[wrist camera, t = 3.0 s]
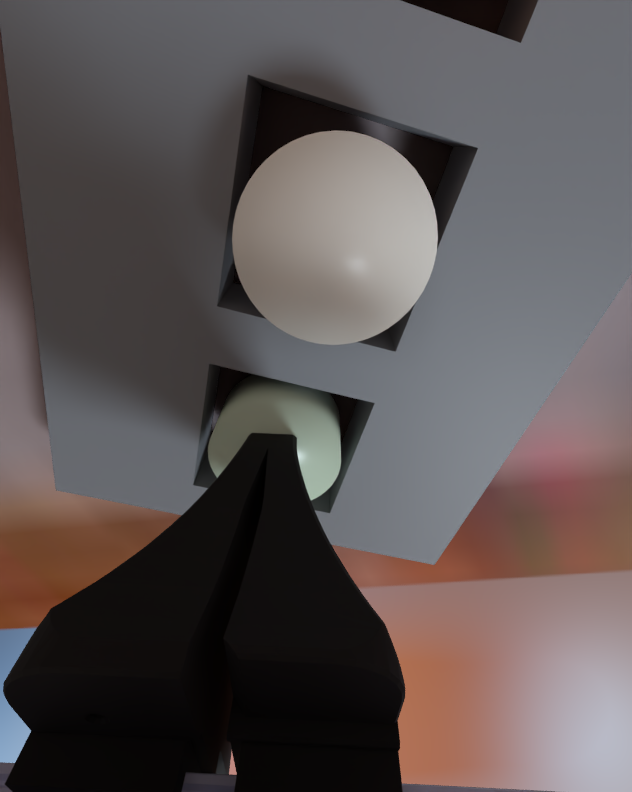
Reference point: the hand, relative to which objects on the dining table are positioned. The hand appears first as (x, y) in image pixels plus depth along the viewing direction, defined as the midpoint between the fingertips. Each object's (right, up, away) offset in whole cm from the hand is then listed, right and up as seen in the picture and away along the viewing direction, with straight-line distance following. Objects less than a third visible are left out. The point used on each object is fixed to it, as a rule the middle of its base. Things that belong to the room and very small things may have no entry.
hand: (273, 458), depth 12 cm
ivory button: (+2, +6, -3) cm, 7 cm away
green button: (0, +1, +2) cm, 2 cm away
